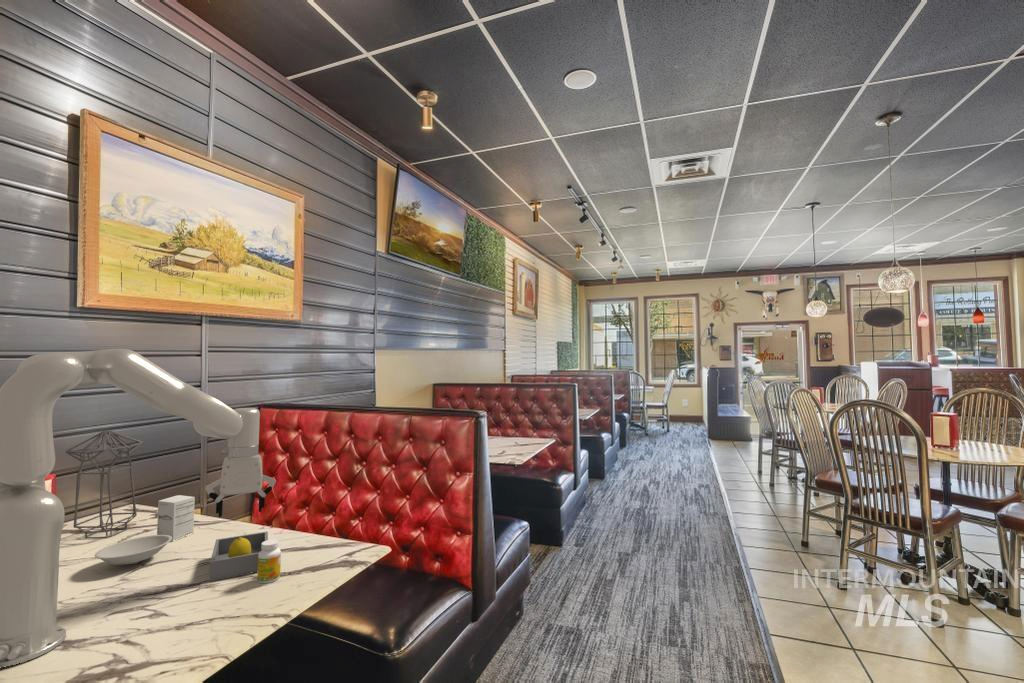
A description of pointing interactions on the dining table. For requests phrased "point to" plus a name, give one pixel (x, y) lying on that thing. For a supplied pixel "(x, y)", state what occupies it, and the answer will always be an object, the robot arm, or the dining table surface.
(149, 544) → the dish
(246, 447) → the robot arm
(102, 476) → the geometric lantern
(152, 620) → the dining table surface
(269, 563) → the supplement bottle
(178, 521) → the supplement box
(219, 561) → the tote
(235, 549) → the lemon
